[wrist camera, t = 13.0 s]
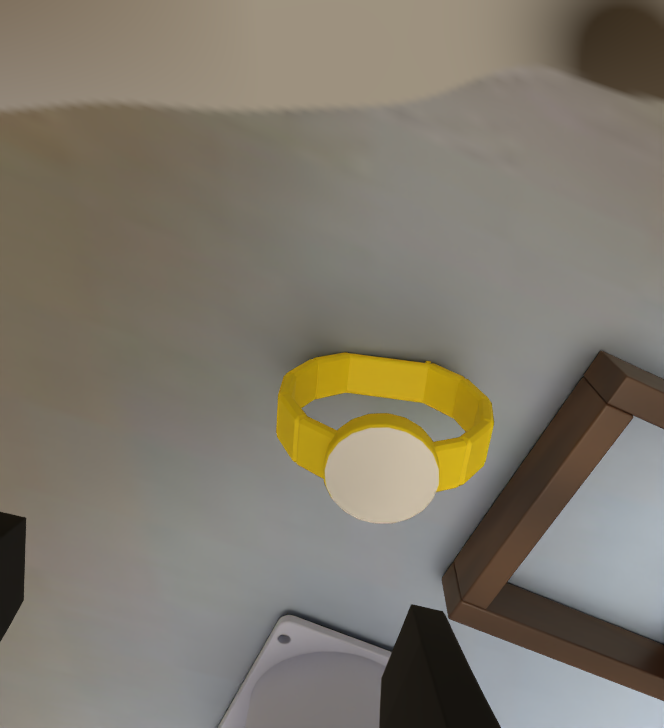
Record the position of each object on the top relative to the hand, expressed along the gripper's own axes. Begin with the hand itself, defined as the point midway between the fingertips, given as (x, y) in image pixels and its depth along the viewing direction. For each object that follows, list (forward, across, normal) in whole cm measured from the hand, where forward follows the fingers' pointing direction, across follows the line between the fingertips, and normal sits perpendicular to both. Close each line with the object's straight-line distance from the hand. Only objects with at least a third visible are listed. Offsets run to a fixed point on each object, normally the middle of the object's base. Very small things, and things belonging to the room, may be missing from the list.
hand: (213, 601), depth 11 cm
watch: (+10, -3, -1) cm, 10 cm away
